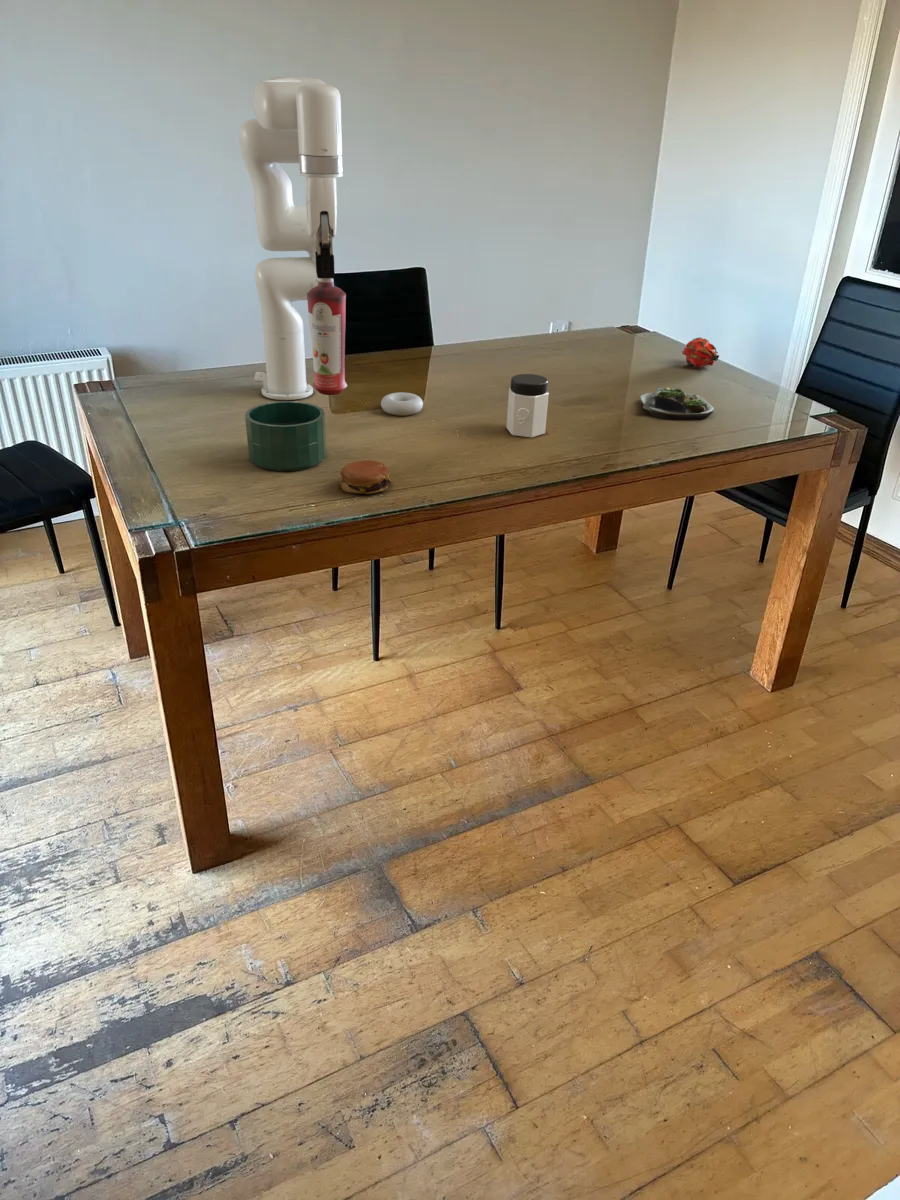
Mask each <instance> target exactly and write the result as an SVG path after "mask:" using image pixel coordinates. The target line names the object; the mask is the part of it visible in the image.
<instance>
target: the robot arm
mask: <svg viewBox="0 0 900 1200" xmlns="http://www.w3.org/2000/svg"><path fill="white" fill-rule="evenodd" d="M341 99H342V98H341V92H340V91H339V89H338V88H337V87H335V86H333V85H330V84H329V83H328V84H327V83H325V82H324V81H322V80H321V79H319V78H316V77H300V76H299V77H298V76H272V77H270V78H268V79H265V80H259V81H258V82H257V83H256V85H255V89H254V94H253V107H254V113H255V114H254V115H255V117H256V118H251V119H249V120H246V121H244V122H242V124H241V125H240V127H239V131H238V142H239V148H240V152H241V155H242V159H243V162H244V164H245V167H246V170H247V172H248V175H249V177H250V180H251V184H252V189H253V199H254V211H255V221H256V222H255V223H256V230H257V237H258V238H257V239H258V241H259V245H260V246H261V247H262V248H263V249H264V250H266V251H270V252H307V254H308V256H300V257H299V256H297V257H295V256H293V257H292V256H290V257H289V256H288V257H287V256H286V257H285V256H283V257H271V258H265V259H263V260H261V261H260V262H258V263H257V264H256V266H255V270H254V279H255V280H254V281H255V285H256V290H257V294H258V298H259V304H260V312H261V320H262V321H261V322H262V331H263V333H262V334H263V347H264V356H265V357H264V358H265V371H266V372H262V371H256V372H255V373H254V378H253V381H254V382H257V383H262V384H263V386H262V387H261V388H260V389H261V394H262V396H264V397H265V398H266V399H267V398H268V399H271V400H275V401H296V400H302V399H305V398H308V397H310V396H312V395H313V393H314V387H313V386H312V385H311V384H310V383H307V370H306V369H307V368H306V351H305V334H304V333H305V332H304V321H303V318H302V315H301V314H300V313H299V311H298V310H297V309H296V308H295V307H294V306H293V305H292V303H293V302H297V301H307V293H308V292H309V291H310V290H311V289H312V288H314V287H316V286H318V278H333V279H334V278H335V277H336V276H335V255H334V251H333V249H334V247H333V239H334V238H335V237H336V236H337V225H338V224H337V223H338V193H337V192H338V191H337V188H338V187H337V178H341V177H344V169H343V165H344V164H343V133H342V132H343V131H342V128H343V127H342V100H341ZM280 164H298V165H299V176H301V177H305V200H306V203H305V204H306V205H295V203H294V196H293V184H292V181H291V178H290V177H289V176H288V174H287V172H285V170H284V169H283V168H282V166H281V165H280Z"/></svg>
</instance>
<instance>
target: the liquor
mask: <svg viewBox="0 0 900 1200" xmlns="http://www.w3.org/2000/svg"><path fill="white" fill-rule="evenodd" d="M306 301H307V310H308V311H307V312H308V322H309V323H308V324H309V332H310V333H309V334H310V341H311V342H310V343H311V353H312V354H311V355H312V364H313V366H312V367H313V378H314V379H313V383H312V385H311V386H312V387H313V389H315V390H316V391H317V392H318V393H319V394H320V395H323V396H337V395H340V394H342V392H343V391H344V390H345V389H347V387H348V384H347V382H346V373H345V372H346V371H345V369H346V368H345V367H346V366H345V364H346V363H345V361H346V360H345V359H346V323H347V322H346V313H347V312H346V311H347V310H346V309H347V308H346V307H347V306H346V305H347V304H346V303H347V293H346V292H345V291H344V290H343V289H342V288H340V287H338V286H336V285H335V282H334V278H318V286H316V287H314V288H312V289H311V290H310V291H309V292H308V293H307V300H306Z"/></svg>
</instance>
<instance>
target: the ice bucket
mask: <svg viewBox="0 0 900 1200" xmlns="http://www.w3.org/2000/svg"><path fill="white" fill-rule="evenodd" d="M244 418H245V419H244V420H245V429H246V430H245V431H246V440H247V441H246V442H247V451H248V459H249V460H250V462H252V463H254V464H255V465H256V466H258V467H260V468H262V469H266V470H269V471H275V472H294V471H301V470H307V469H309V468H310V469H311V468H312V467H315V466H317V465H318V464H320V463H321V462H322V461H323V460H324V459H325V458H326V457H327V431H326V413H325V411H324V409H323V408H322V407H320V406H318V405H317V404H314V403H309V402H303V401H296V400H280V401H272V402H265V403H261V404H257V405H255V406H252V407H251V408H249V409H247V410H246V411H245V413H244Z"/></svg>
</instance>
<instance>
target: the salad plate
mask: <svg viewBox="0 0 900 1200" xmlns="http://www.w3.org/2000/svg"><path fill="white" fill-rule="evenodd" d="M640 401H641V403H642V409H643V410H646V411H647V412H649V414H650V415H651V416H654V417H657V418H660V419H664V420H665V419H666V420H676V421H697V420H705V419H707V418H708V417H710V416H711V415H712V414H713V413H714V410H715V408H714V407H713V406H712V405H711V404H710V403H709V402H708V401H707V399H705V398H704V397H702V396H701V395H698V394H693V393H687V392H685V391H683V390H682V389H681V388H679V387H677V388H670V387H669V386H666V387H665V388H663V387H659V388H656V389H655V392H649V393H648V392H647V393H644V394H642V395H640Z"/></svg>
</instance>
